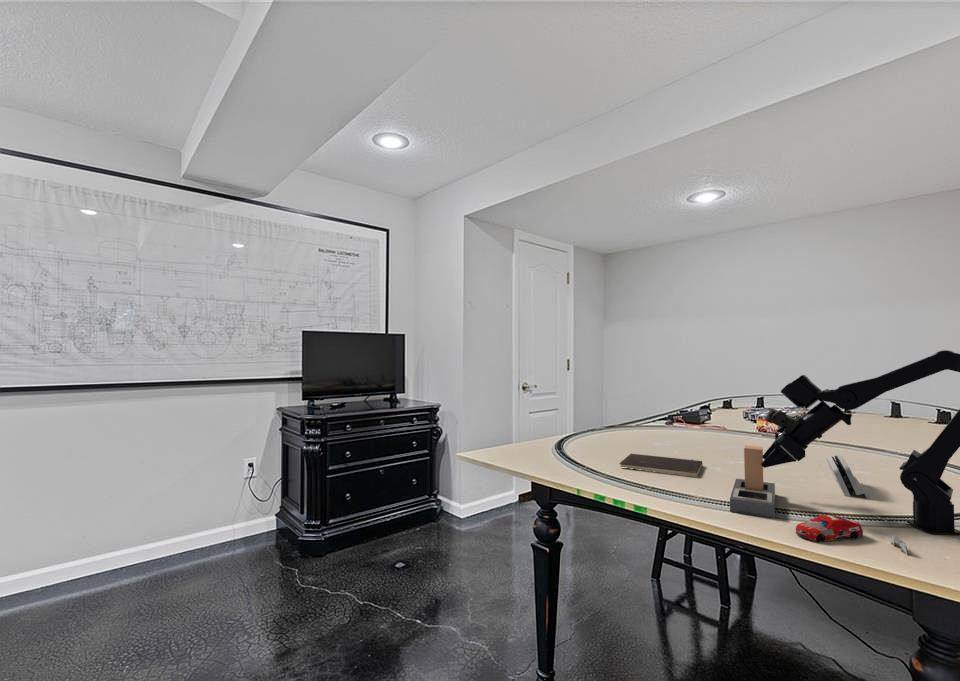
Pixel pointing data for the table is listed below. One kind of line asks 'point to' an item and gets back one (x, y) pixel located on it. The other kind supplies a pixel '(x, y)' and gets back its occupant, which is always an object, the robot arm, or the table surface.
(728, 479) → the table surface
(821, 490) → the table surface
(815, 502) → the table surface
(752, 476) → the peg
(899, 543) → the small metal piece
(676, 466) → the hardcover book
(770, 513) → the block with square holes
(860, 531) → the race car
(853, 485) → the white slotted holder
